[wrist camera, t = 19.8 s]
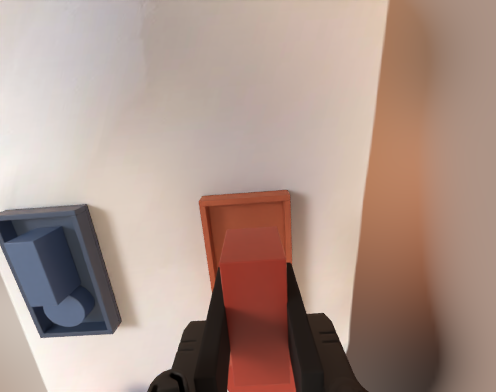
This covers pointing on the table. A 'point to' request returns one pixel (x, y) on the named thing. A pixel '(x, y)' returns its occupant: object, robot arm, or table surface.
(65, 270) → the blue spoon
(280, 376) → the red spoon
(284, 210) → the red tray
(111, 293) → the blue tray
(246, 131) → the table surface
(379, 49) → the table surface
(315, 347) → the robot arm
